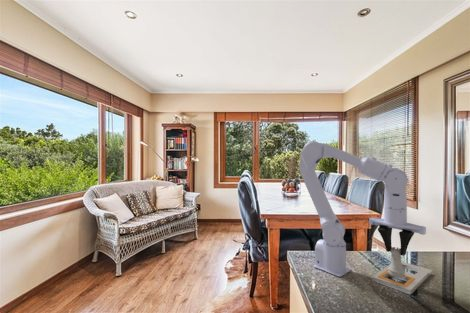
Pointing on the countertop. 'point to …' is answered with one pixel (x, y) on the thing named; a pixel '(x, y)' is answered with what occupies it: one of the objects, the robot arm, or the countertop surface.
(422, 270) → the rail plate
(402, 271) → the rook chess piece
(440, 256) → the countertop surface
